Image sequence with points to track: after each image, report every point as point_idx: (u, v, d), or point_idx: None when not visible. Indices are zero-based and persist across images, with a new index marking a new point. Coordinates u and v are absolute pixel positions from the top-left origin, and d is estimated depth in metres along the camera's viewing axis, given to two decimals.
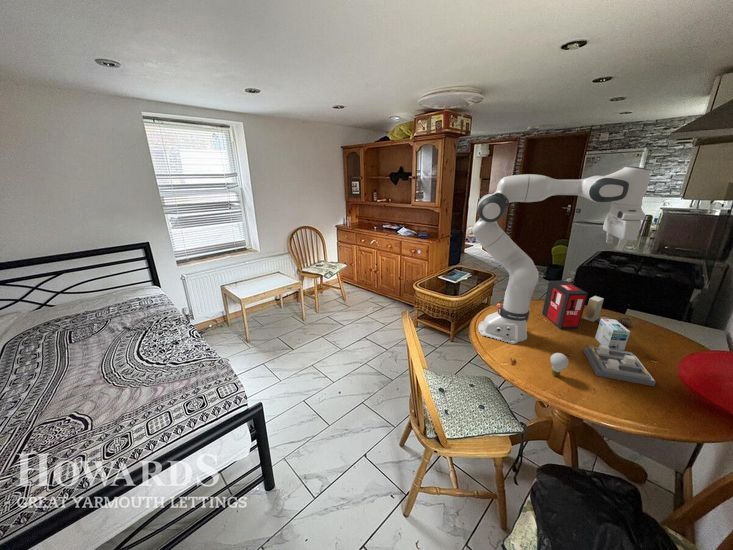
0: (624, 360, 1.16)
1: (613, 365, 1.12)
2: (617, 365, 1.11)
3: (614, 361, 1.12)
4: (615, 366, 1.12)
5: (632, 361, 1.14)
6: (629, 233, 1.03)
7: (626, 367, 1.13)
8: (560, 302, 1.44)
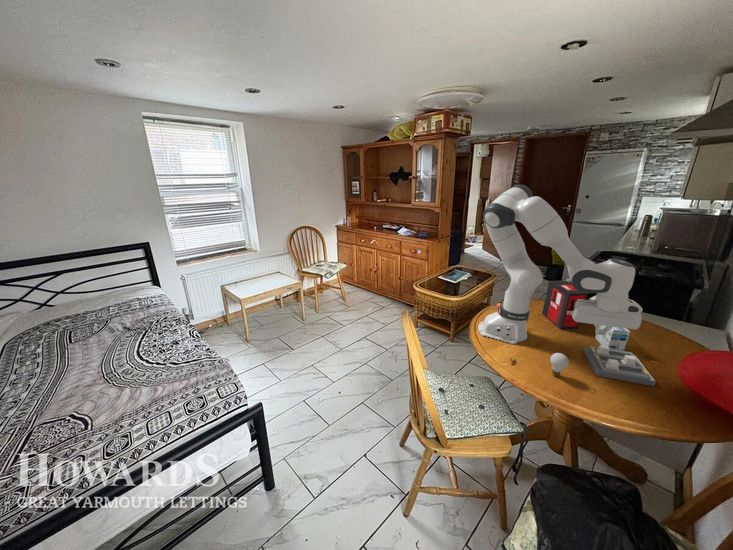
0: (624, 360, 1.16)
1: (613, 365, 1.12)
2: (617, 365, 1.11)
3: (614, 361, 1.12)
4: (615, 366, 1.12)
5: (632, 361, 1.14)
6: None
7: (626, 367, 1.13)
8: (560, 302, 1.44)
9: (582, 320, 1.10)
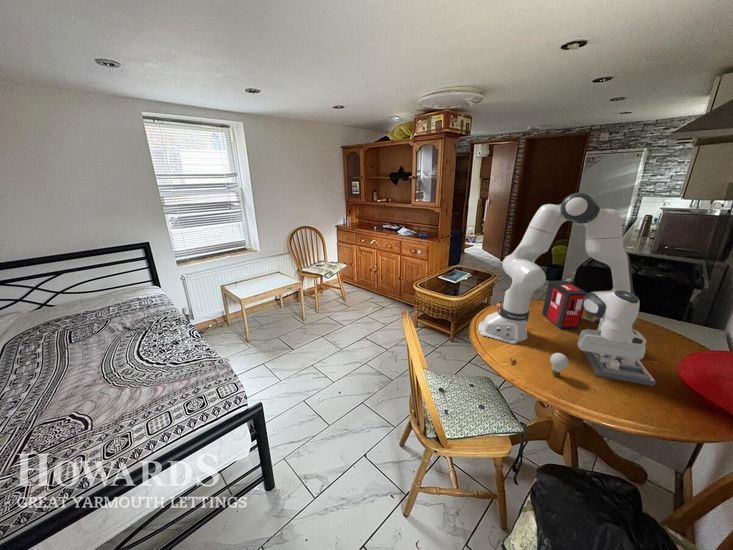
0: (624, 360, 1.16)
1: (613, 365, 1.12)
2: (617, 365, 1.11)
3: (615, 361, 1.12)
4: (615, 366, 1.12)
5: (632, 361, 1.14)
6: None
7: (626, 367, 1.13)
8: (560, 302, 1.44)
9: (587, 349, 1.13)
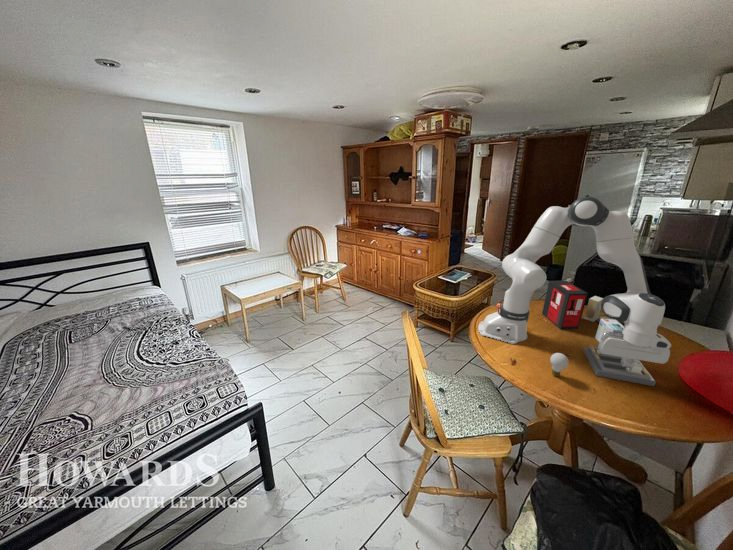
0: None
1: (635, 369, 1.10)
2: (640, 369, 1.09)
3: (637, 365, 1.10)
4: (638, 370, 1.09)
5: None
6: None
7: None
8: (560, 302, 1.44)
9: (609, 353, 1.10)
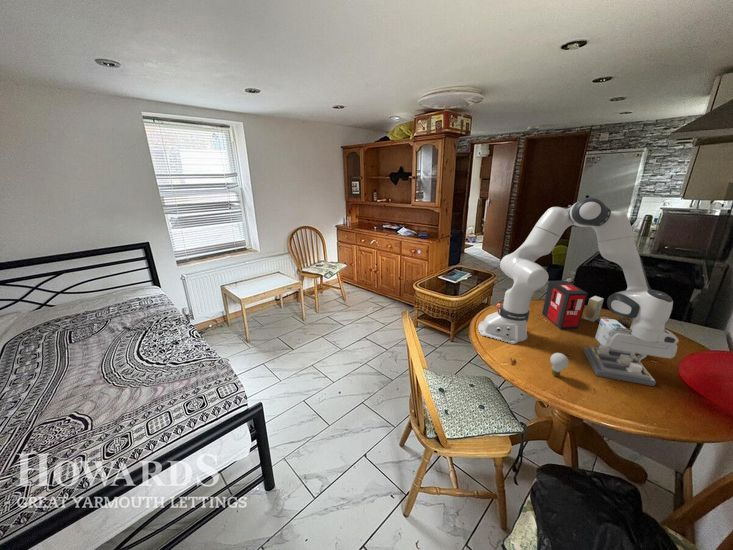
0: (620, 359, 1.16)
1: (635, 369, 1.10)
2: (640, 369, 1.09)
3: (637, 365, 1.10)
4: (638, 370, 1.09)
5: (628, 360, 1.14)
6: None
7: None
8: (560, 302, 1.44)
9: (617, 348, 1.13)
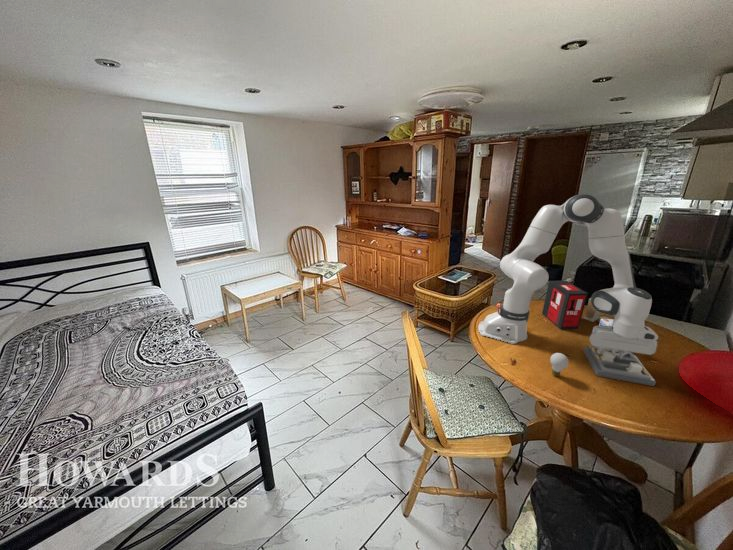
0: (603, 356, 1.18)
1: (635, 369, 1.10)
2: (640, 369, 1.09)
3: (637, 365, 1.10)
4: (638, 370, 1.09)
5: (610, 357, 1.16)
6: None
7: None
8: (560, 302, 1.44)
9: (599, 345, 1.15)
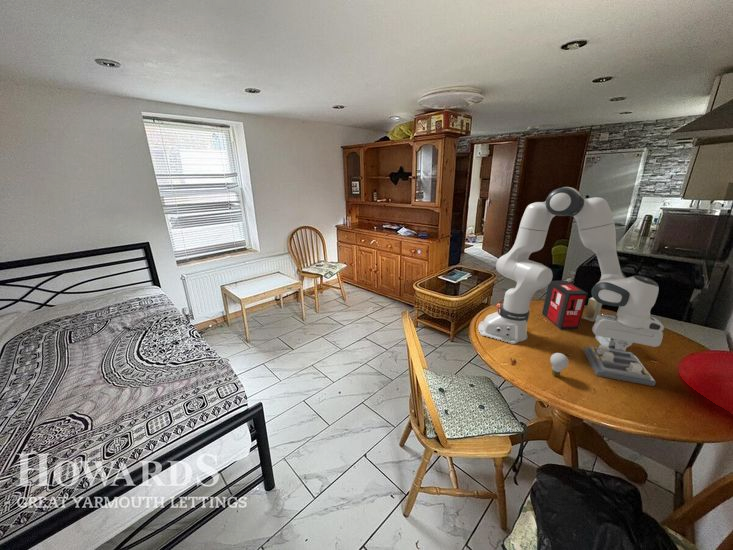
0: (603, 356, 1.18)
1: (635, 369, 1.10)
2: (640, 369, 1.09)
3: (637, 365, 1.10)
4: (638, 370, 1.09)
5: (610, 357, 1.16)
6: None
7: None
8: (560, 302, 1.44)
9: (602, 334, 1.12)
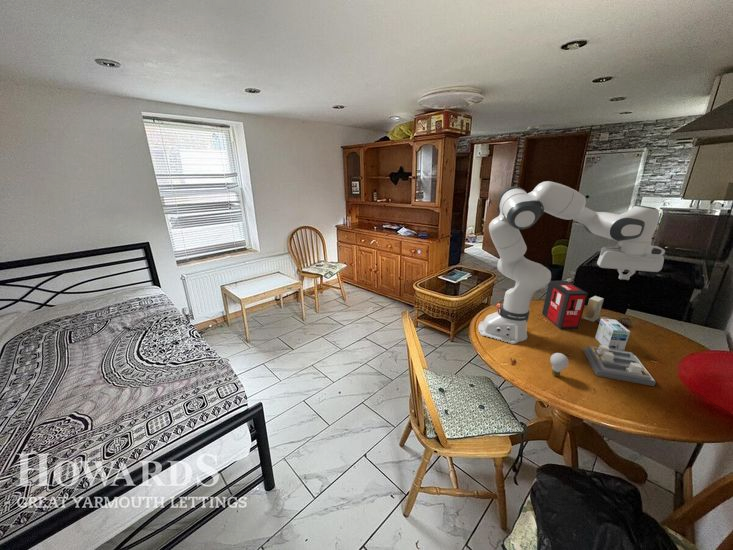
0: (603, 356, 1.18)
1: (635, 369, 1.10)
2: (640, 369, 1.09)
3: (637, 365, 1.10)
4: (638, 370, 1.09)
5: (610, 357, 1.16)
6: None
7: None
8: (560, 302, 1.44)
9: (607, 265, 1.18)
